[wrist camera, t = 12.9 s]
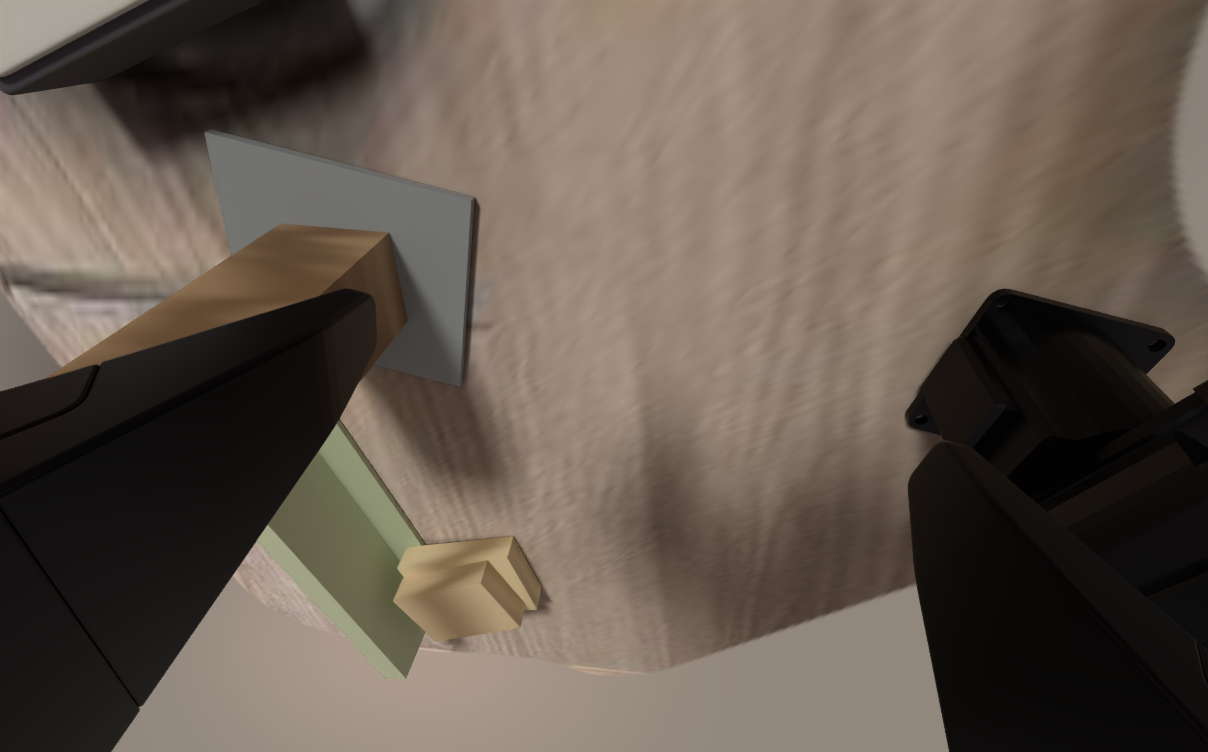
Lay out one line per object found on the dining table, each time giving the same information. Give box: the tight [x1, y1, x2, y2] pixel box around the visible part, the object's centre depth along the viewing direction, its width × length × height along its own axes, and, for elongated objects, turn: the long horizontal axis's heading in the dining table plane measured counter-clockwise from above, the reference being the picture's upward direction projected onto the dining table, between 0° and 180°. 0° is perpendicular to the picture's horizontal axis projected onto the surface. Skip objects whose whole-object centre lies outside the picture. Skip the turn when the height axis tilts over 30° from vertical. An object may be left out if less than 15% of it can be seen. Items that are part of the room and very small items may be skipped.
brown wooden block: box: [47, 223, 408, 382], centre depth 20 cm, size 4×4×11 cm
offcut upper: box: [393, 560, 526, 642], centre depth 34 cm, size 6×4×2 cm
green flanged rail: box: [257, 420, 426, 679], centre depth 33 cm, size 5×18×5 cm, turn 16°
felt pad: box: [204, 129, 475, 387], centre depth 24 cm, size 10×9×1 cm
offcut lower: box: [397, 536, 542, 611], centre depth 35 cm, size 7×5×2 cm
